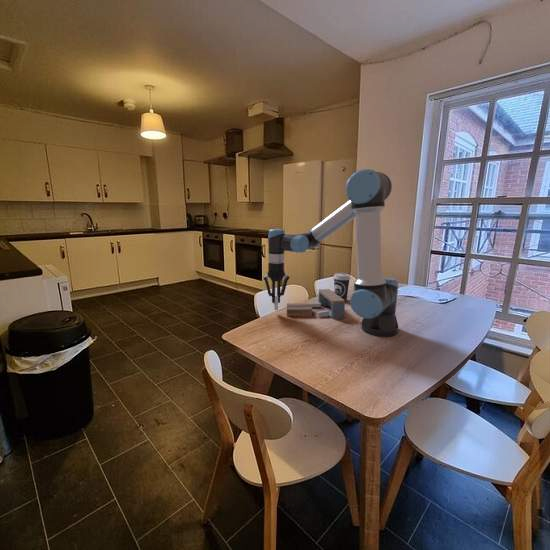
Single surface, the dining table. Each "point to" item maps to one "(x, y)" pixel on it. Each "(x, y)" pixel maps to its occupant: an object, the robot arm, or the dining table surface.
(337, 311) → the bridge shelf
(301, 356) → the dining table surface
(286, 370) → the dining table surface
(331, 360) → the dining table surface
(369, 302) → the robot arm
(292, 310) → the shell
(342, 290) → the coffee cup
